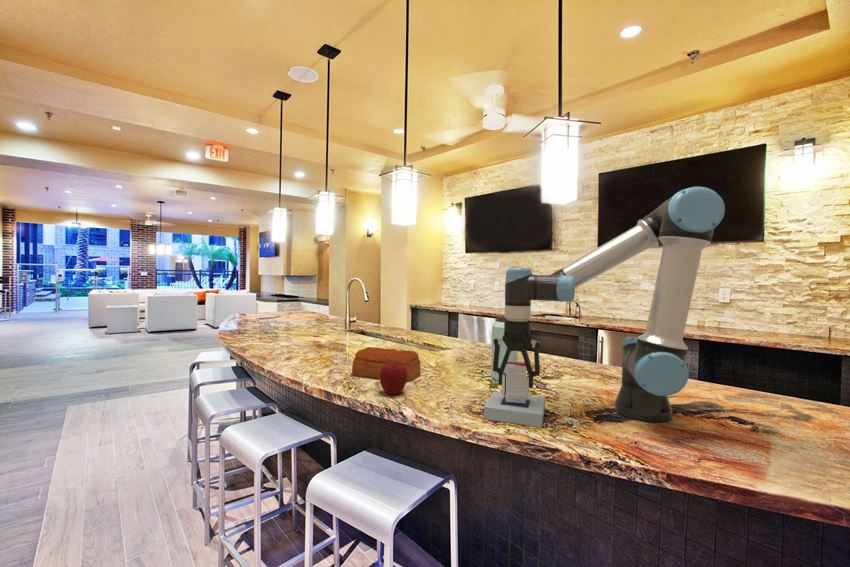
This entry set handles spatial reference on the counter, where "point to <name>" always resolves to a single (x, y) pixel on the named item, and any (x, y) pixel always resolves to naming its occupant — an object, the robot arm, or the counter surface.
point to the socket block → (515, 410)
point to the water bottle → (498, 333)
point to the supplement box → (516, 383)
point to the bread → (385, 362)
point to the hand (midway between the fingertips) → (515, 396)
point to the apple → (393, 378)
